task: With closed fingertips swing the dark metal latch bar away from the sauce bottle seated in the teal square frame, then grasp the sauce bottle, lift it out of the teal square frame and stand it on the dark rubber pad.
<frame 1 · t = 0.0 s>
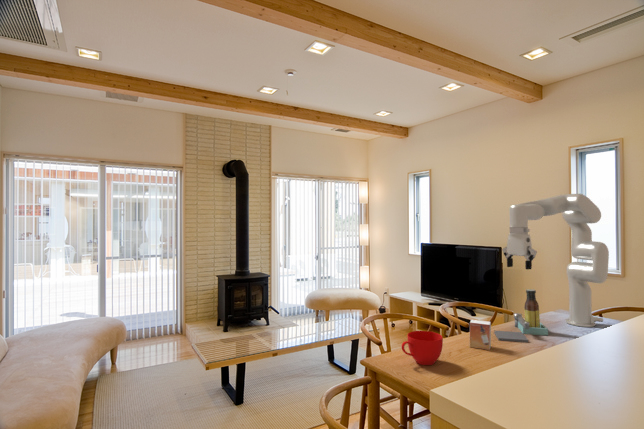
hand: (519, 268, 177), 31 cm above the table, tool pointing down, fingers open, 9 cm apart
ceramic cup: (420, 363, 144), on the table
latch bar: (522, 320, 182), point 6 cm above the table, hinge at 0.0°
teal square frame: (532, 331, 183), on the table
small box: (480, 347, 161), on the table
sauce bottle: (532, 331, 183), resting in teal square frame
pad: (510, 337, 174), on the table
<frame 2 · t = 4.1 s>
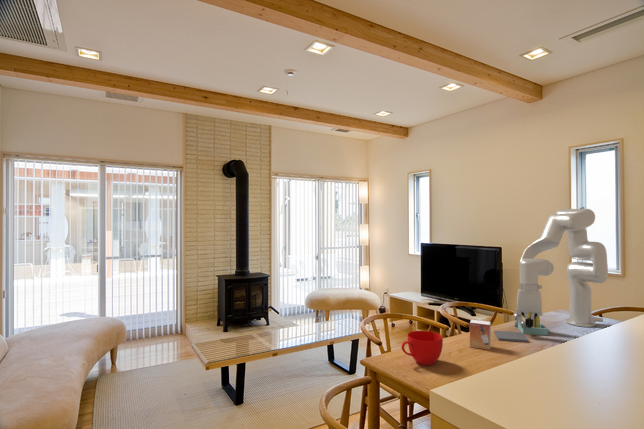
hand: (529, 327, 175), 4 cm above the table, tool pointing down, fingers closed
latch bar: (520, 320, 183), point 6 cm above the table, hinge at -4.4°, touching gripper
everything else where it was.
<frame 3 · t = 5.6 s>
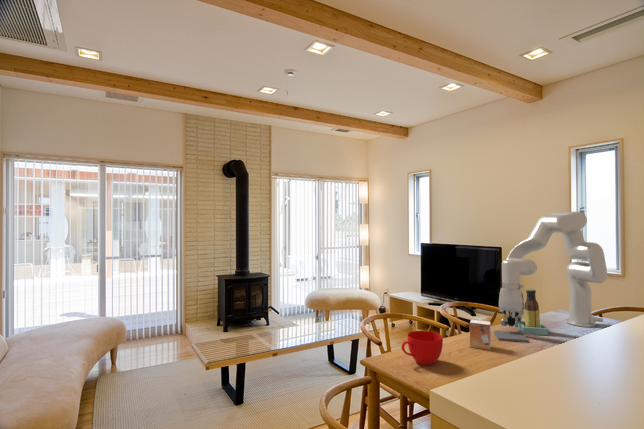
hand: (511, 325, 178), 4 cm above the table, tool pointing down, fingers closed
latch bar: (511, 318, 185), point 6 cm above the table, hinge at -31.1°, touching gripper
everything else where it was.
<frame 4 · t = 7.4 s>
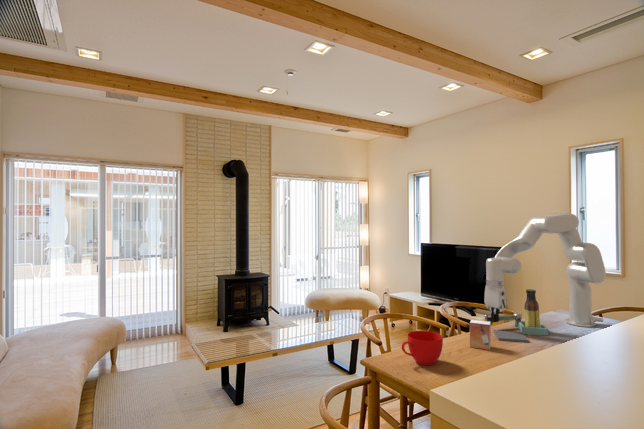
hand: (494, 321, 184), 4 cm above the table, tool pointing down, fingers closed
latch bar: (503, 316, 189), point 6 cm above the table, hinge at -60.4°, touching gripper
everything else where it was.
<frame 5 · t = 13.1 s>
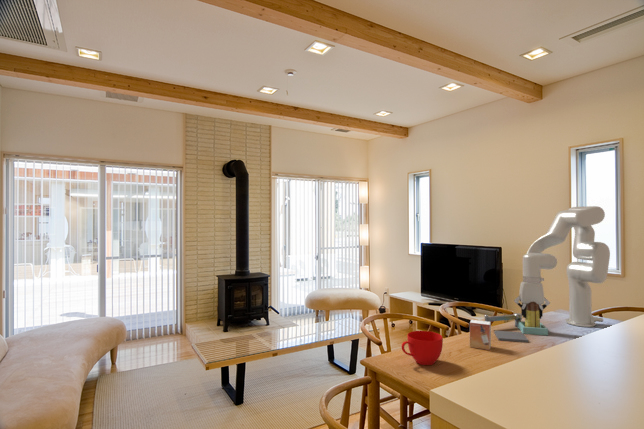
hand: (531, 317, 183), 7 cm above the table, tool pointing down, fingers closed on sauce bottle, 6 cm apart
latch bar: (503, 316, 189), point 6 cm above the table, hinge at -60.5°
sauce bottle: (532, 331, 183), resting in teal square frame, touching gripper
everything else where it was.
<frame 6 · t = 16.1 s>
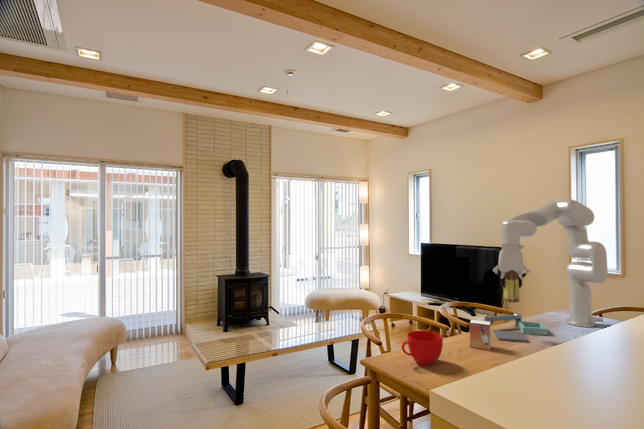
hand: (511, 286, 174), 23 cm above the table, tool pointing down, fingers closed on sauce bottle, 6 cm apart
sauce bottle: (511, 301, 174), point 16 cm above the table, touching gripper
everything else where it was.
when the fingers open (9 cm above the table, at t = 19.3 s): sauce bottle drops 1 cm, resting on pad.
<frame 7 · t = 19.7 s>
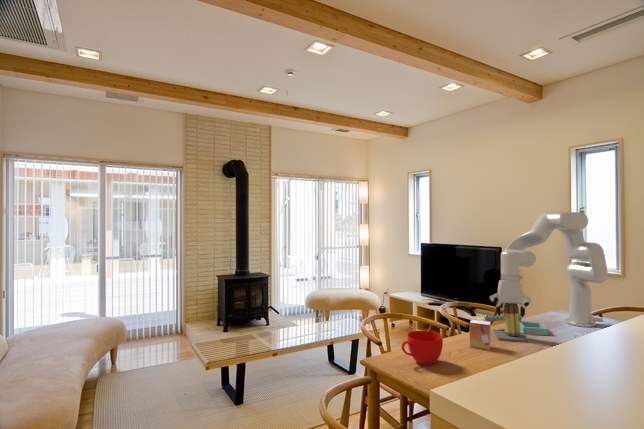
hand: (510, 315, 174), 10 cm above the table, tool pointing down, fingers open, 9 cm apart
sauce bottle: (512, 335, 174), point 1 cm above the table, touching pad
everything else where it was.
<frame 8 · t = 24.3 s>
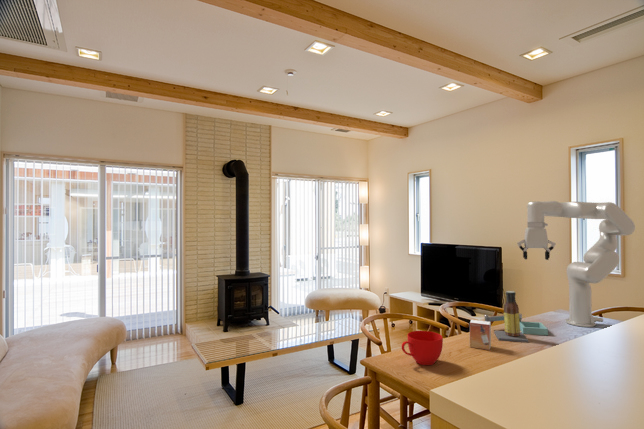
hand: (536, 259, 194), 33 cm above the table, tool pointing down, fingers open, 9 cm apart
nothing on the table moved.
at the end: latch bar at -60° (first picture: +0°); sauce bottle inside the target area on the pad (0.6 cm from its centre), point 0.8 cm above the pad's base; sauce bottle tilted 0° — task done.
